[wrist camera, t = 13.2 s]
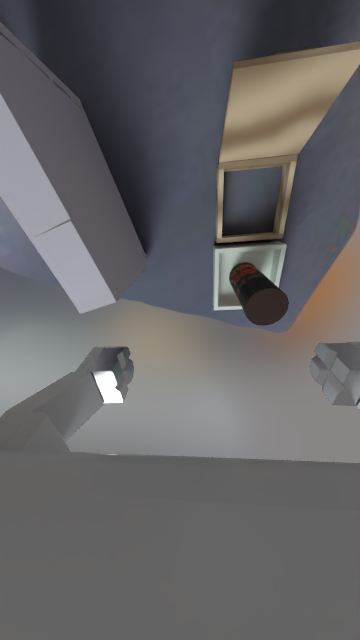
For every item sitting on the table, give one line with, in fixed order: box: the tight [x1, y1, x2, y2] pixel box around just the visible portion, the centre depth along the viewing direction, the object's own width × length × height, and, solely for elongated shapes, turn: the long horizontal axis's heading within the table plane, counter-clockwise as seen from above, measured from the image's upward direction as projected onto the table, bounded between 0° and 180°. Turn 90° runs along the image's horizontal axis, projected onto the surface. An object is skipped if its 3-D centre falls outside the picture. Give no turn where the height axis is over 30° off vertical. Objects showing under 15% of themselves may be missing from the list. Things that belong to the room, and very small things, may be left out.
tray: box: [213, 241, 287, 310], centre depth 39 cm, size 13×13×4 cm
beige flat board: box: [219, 41, 360, 163], centre depth 22 cm, size 12×12×1 cm
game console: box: [0, 22, 147, 314], centre depth 26 cm, size 6×27×20 cm, turn 19°
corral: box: [216, 154, 298, 243], centre depth 33 cm, size 12×12×3 cm
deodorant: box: [229, 262, 289, 325], centre depth 33 cm, size 6×6×15 cm
